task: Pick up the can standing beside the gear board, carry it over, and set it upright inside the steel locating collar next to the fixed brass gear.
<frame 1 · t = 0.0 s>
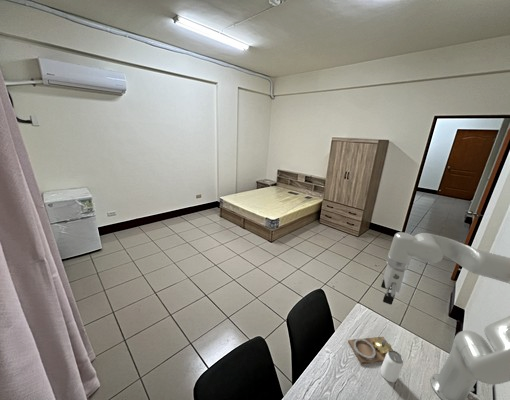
hand: (385, 295, 92), 37 cm above the table, tool pointing down, fingers open, 9 cm apart
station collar: (363, 351, 106), resting on gear board
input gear: (381, 349, 108), resting on gear board
gear board: (372, 350, 107), on the table
can: (388, 375, 97), on the table
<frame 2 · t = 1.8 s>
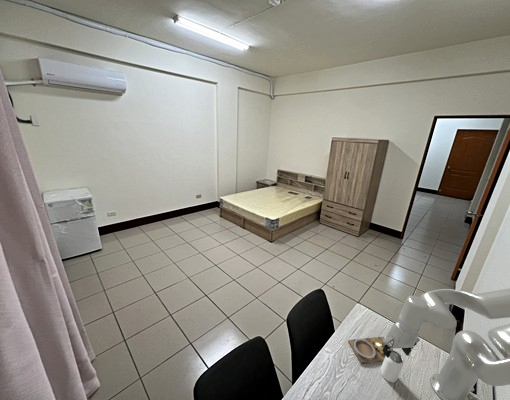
hand: (395, 353, 92), 14 cm above the table, tool pointing down, fingers open, 9 cm apart
nothing on the table moved.
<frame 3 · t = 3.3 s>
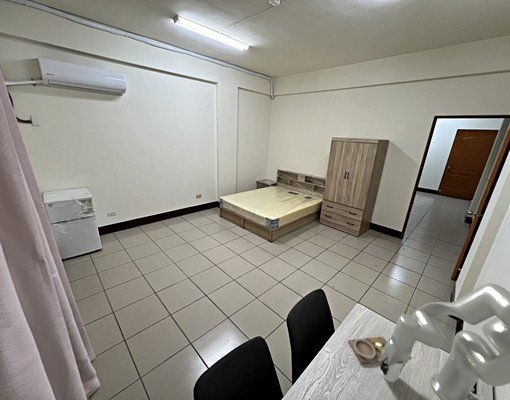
hand: (390, 370, 96), 3 cm above the table, tool pointing down, fingers closed on can, 6 cm apart
can: (388, 375, 97), on the table, touching gripper
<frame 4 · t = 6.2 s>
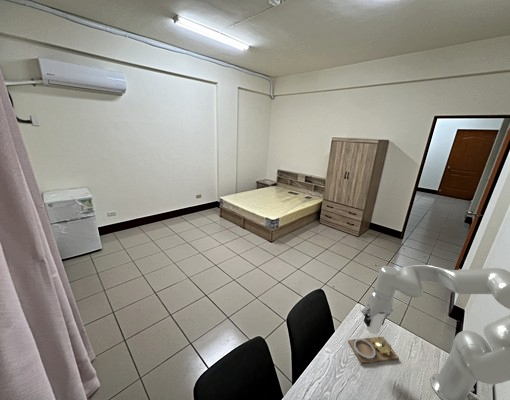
hand: (373, 323, 100), 19 cm above the table, tool pointing down, fingers closed on can, 6 cm apart
can: (371, 328, 101), point 16 cm above the table, touching gripper
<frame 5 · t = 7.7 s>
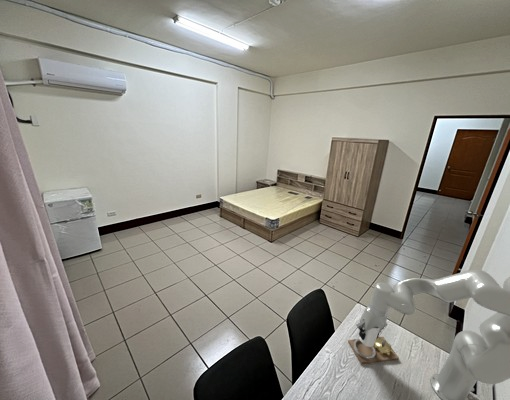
hand: (368, 336, 103), 10 cm above the table, tool pointing down, fingers closed on can, 6 cm apart
can: (366, 341, 104), point 7 cm above the table, touching gripper
when the fingers open (6 cm above the table, at t = 9.2 s): can stays where it is, resting on gear board.
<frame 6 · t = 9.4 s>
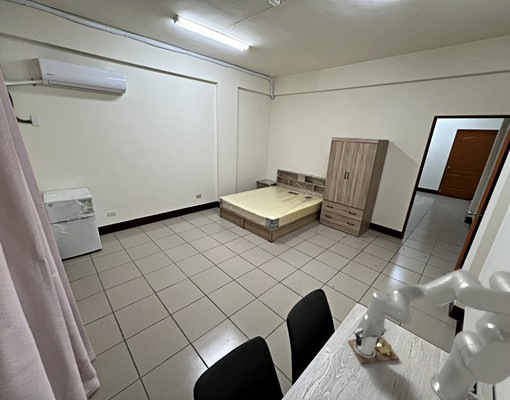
hand: (366, 343, 104), 6 cm above the table, tool pointing down, fingers open, 8 cm apart
can: (364, 350, 106), point 1 cm above the table, touching gear board
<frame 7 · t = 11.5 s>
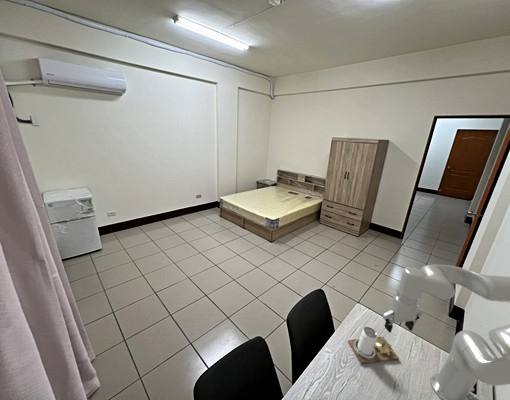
hand: (398, 328, 91), 25 cm above the table, tool pointing down, fingers open, 9 cm apart
nothing on the table moved.
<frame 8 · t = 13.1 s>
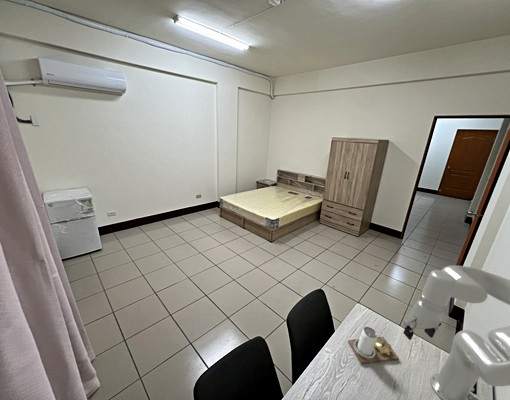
hand: (417, 335, 85), 28 cm above the table, tool pointing down, fingers open, 9 cm apart
nothing on the table moved.
at the end: can 0.2 cm off-centre on the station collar, point 1.3 cm above the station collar's base; can tilted 0°; the gripper is holding nothing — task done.
